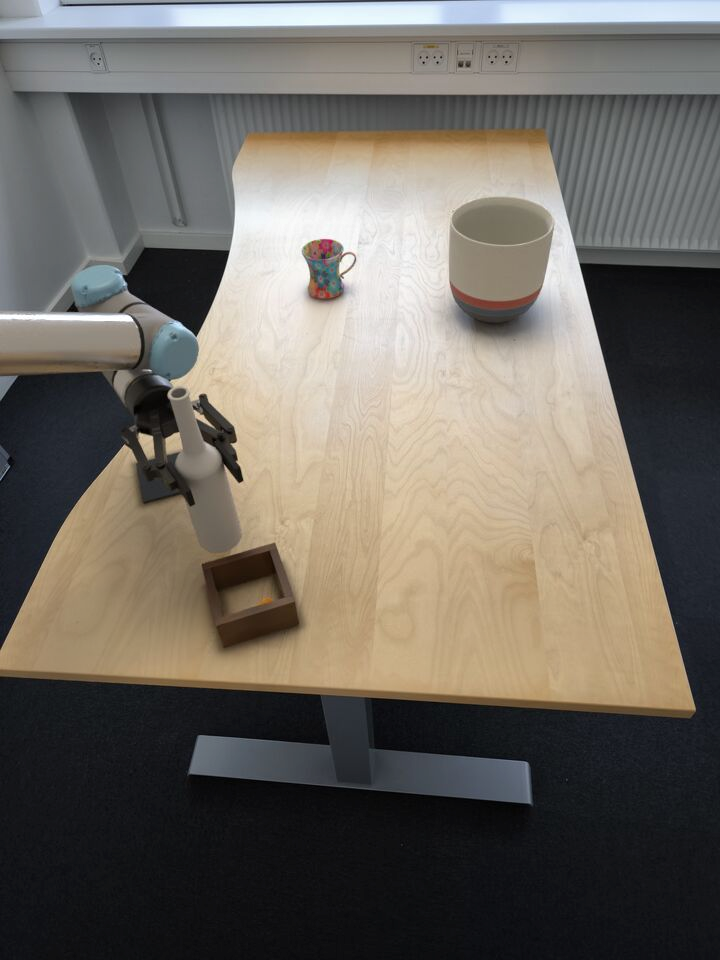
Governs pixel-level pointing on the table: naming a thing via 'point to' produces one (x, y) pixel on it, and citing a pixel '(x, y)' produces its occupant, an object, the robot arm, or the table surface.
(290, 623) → the holder
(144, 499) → the mat
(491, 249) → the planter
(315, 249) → the mug
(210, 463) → the bottle
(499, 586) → the table surface
